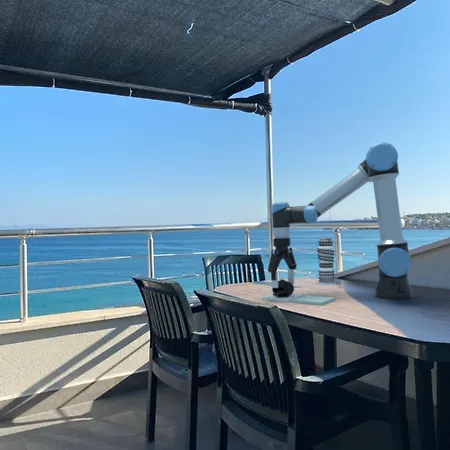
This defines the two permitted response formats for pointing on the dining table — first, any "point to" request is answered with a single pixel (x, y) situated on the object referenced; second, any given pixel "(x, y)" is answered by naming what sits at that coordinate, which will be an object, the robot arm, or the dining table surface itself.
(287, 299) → the pale blue mat
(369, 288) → the dining table surface
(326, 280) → the decorative candle
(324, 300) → the sage mat
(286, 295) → the end cap
